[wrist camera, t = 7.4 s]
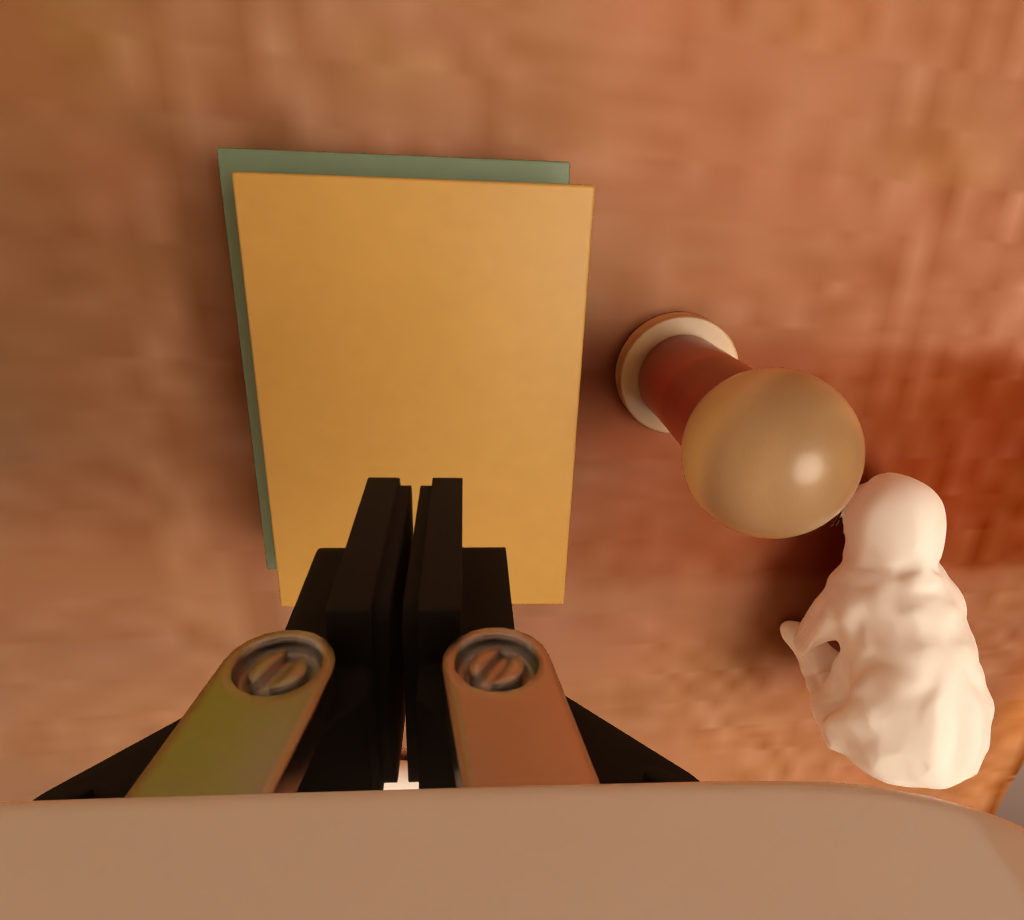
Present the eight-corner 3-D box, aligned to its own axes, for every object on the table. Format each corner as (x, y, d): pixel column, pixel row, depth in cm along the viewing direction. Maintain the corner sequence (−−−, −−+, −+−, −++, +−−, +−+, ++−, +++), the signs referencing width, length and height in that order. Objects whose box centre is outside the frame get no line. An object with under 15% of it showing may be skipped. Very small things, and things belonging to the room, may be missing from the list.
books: (566, 165, 24) (597, 158, 18) (544, 532, 30) (563, 611, 24) (245, 152, 23) (176, 140, 18) (285, 533, 29) (243, 615, 23)
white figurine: (864, 823, 25) (906, 532, 22) (767, 685, 33) (786, 458, 30) (1023, 809, 26) (1089, 519, 22) (888, 676, 34) (921, 450, 30)
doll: (697, 304, 28) (998, 366, 19) (682, 412, 30) (950, 515, 21) (523, 317, 24) (808, 405, 15) (517, 442, 25) (768, 590, 16)
